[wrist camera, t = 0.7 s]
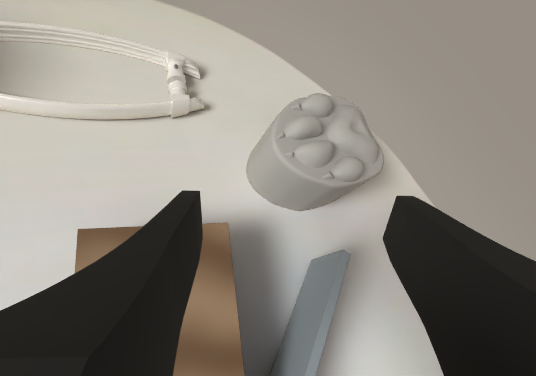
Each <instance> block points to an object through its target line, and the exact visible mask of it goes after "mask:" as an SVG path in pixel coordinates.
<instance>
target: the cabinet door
mask: <svg viewBox="0 0 536 376" xmlns="http://www.w3.org/2000/svg"><path fill="white" fill-rule="evenodd" d="M349 257H350V253H348V252H346V251H345V250H341V251H338V252H335V253H332V254H329V255H326V256H323V257H320V258H317V259H314V260H311V263H310V266H309V269H308V271H307V274H306V277H305V280H304V283H303V285H302V288H301V291H300V294H299V296H298V299H297V302H296V305H295V307H294V310H293V313H292V316H291V318H290V321H289V324H288V327H287V329H286V332H285V335H284V338H283V340H282V343H281V346H280V349H279V352H278V354H277V357H276V360H275V363H274V365H273V368H272V371H271V374H270V376H315V375H316V372H317V368H318V365H319V361H320V358H321V354H322V351H323V348H324V344H325V341H326V337H327V334H328V330H329V327H330V323H331V320H332V316H333V313H334V309H335V306H336V302H337V299H338V295H339V292H340V289H341V285H342V282H343V278H344V275H345V271H346V268H347V264H348V261H349Z"/></svg>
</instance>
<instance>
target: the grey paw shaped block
mask: <svg viewBox="0 0 536 376" xmlns="http://www.w3.org/2000/svg"><path fill="white" fill-rule="evenodd" d="M383 162H384V157H383V153H382V151H381V149H380V147H379V145H378V143H377V142H376V140H375V139H374V137H373V136H372V134H371V132H370V130H369V128H368V126H367V123H366V120H365V118H364V115H363V114H362V112H361V110H360V109H359V108H358V107H357V106H356V105H355V104H354V103H352V102H350V101H349V100H347V99H345V98H342V97H338V96H327V95H325V94H320V93H316V94H312V95H310V96H308V97H305V98H300V99H297V100H294V101H293V102H291V103H290V104H288V105H287V106H286V107H285V108H284V109H283V110H282V111H281V112H280V113H279V114H278V115H277V117H276V118H275V119H274V121H273V122H272V124H271V125H270V126H269V128H268V129H267V131H266V132H265V133H264V135H263V136H262V138H261V139H260V140H259V142H258V143H257V145H256V146H255V147H254V149H253V150H252V152H251V154H250V156H249V159H248V162H247V167H246V173H247V178H248V180H249V183H250V184H251V186H252V187H253V189H254V190H255V191H256V192H257V193H258V194H259V195H261V196H262V197H263V198H265V199H266V200H268V201H269V202H271V203H273V204H275V205H278V206H280V207H284V208H287V209H291V210H295V211H304V210H310V209H314V208H317V207H320V206H323V205H326V204H328V203H330V202H332V201H334V200H336V199H338V198H340V197H341V196H343V195H345V194H346V193H348V192H350V191H351V190H353V189H355V188H356V187H358V186H360V185H361V184H363V183H365V182H366V181H368V180H370V179H371V178H373V177H375V176H376V175H377V174H378V173H380V171H381V170H382V167H383Z"/></svg>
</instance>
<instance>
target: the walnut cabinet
mask: <svg viewBox="0 0 536 376" xmlns="http://www.w3.org/2000/svg"><path fill="white" fill-rule="evenodd" d="M142 227H143V226H140V227H117V228H94V229H78V235H77V249H76V263H75V273H76V272H78V271H80V270H82V269H83V268H85V267H87V266H88V265H90V264H92V263H94V262H95V261H97V260H98V259H100V258H101V257H103V256H104V255H106V254H107V253H109V252H110V251H112V250H113V249H115V248H116V247H118V246H119V245H121V244H122V243H123V242H125V241H126V240H127V239H129V238H130V237H131V236H132V235H134V234H135V233H136V232H137V231H138V230H140V229H141V228H142ZM202 228H203V240H202V247H201V254H200V260H199V264H198V268H197V271H196V275H195V279H194V282H193V286H192V289H191V293H190V296H189V300H188V304H187V307H186V311H185V314H184V318H183V322H182V327H181V331H180V337H179V342H178V348H177V354H176V359H175V365H174V371H173V376H244V367H243V357H242V348H241V339H240V330H239V321H238V312H237V302H236V293H235V284H234V275H233V266H232V257H231V248H230V238H229V229H228V223H209V224H202Z"/></svg>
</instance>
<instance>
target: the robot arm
mask: <svg viewBox="0 0 536 376" xmlns="http://www.w3.org/2000/svg"><path fill="white" fill-rule="evenodd" d="M202 240H203V228H202V215H201V201H200V191H181V192H180V193H179V194H178V195H177V196H176V197H175V198H174V199H173V200H172V201H171V202H170V203H169V204H168V205H167V206H165V207H164V208H163V209H162V210H161V211H160V212H159V213H158V214H157V215H156V216H155V217H154V218H152V219H151V220H150V221H149V222H148V223H147V224H146V225H145V226H143V227H142V228H141V229H140V230H138V231H137V232H136V233H135V234H134V235H132V236H131V237H130V238H129V239H127V240H126V241H125V242H123V243H122V244H121V245H119V246H118V247H116V248H115V249H113V250H112V251H110V252H109V253H107V254H106V255H104V256H103V257H101V258H100V259H98V260H97V261H95V262H94V263H92V264H90V265H88V266H87V267H85V268H83V269H82V270H80V271H78V272H76V273H75V274H73V275H71V276H69V277H68V278H66V279H64V280H62V281H61V282H59V283H57V284H55V285H53V286H51V287H49V288H47V289H45V290H43V291H41V292H39V293H37V294H35V295H33V296H31V297H29V298H27V299H25V300H23V301H21V302H18V303H16V304H14V305H12V306H10V307H8V308H5V309H3V310H1V311H0V376H173V371H174V365H175V359H176V354H177V348H178V342H179V337H180V331H181V327H182V322H183V318H184V314H185V311H186V307H187V304H188V300H189V296H190V293H191V289H192V286H193V282H194V279H195V275H196V271H197V268H198V264H199V260H200V254H201V247H202ZM383 241H384V244H385V247H386V250H387V253H388V256H389V258H390V261H391V263H392V265H393V267H394V269H395V271H396V273H397V275H398V277H399V279H400V281H401V283H402V284H403V286H404V288H405V290H406V292H407V294H408V296H409V298H410V299H411V301H412V303H413V305H414V307H415V309H416V311H417V312H418V314H419V316H420V318H421V320H422V322H423V325H424V327H425V329H426V331H427V334H428V336H429V338H430V341H431V343H432V346H433V348H434V351H435V353H436V356H437V358H438V361H439V364H440V366H441V369H442V372H443V374H444V376H536V261H534V260H531V259H529V258H527V257H525V256H523V255H521V254H518V253H516V252H514V251H512V250H510V249H508V248H506V247H504V246H502V245H500V244H498V243H497V242H495V241H493V240H491V239H489V238H487V237H485V236H483V235H482V234H480V233H478V232H476V231H474V230H473V229H471V228H469V227H467V226H466V225H464V224H462V223H460V222H459V221H457V220H455V219H453V218H452V217H450V216H448V215H447V214H445V213H443V212H442V211H440V210H438V209H436V208H435V207H433V206H431V205H429V204H428V203H426V202H424V201H422V200H420V199H418V198H416V197H414V196H396V200H395V203H394V206H393V209H392V212H391V215H390V218H389V221H388V224H387V227H386V230H385V233H384V236H383Z"/></svg>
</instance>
